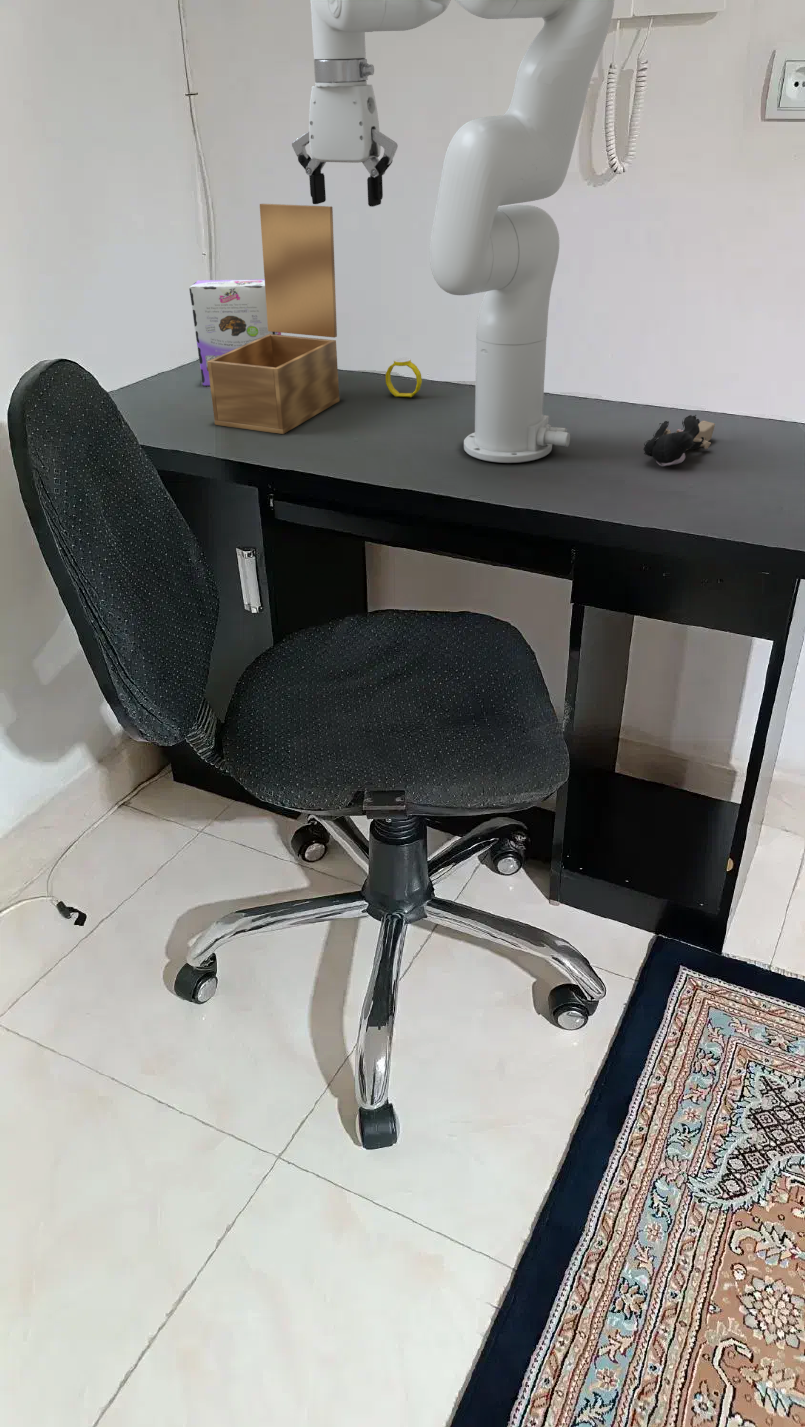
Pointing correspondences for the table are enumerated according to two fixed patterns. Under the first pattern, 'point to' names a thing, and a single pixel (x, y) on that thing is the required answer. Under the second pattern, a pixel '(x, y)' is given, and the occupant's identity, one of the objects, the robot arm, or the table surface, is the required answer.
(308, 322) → the chest lid
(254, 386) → the chest
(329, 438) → the table surface
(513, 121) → the robot arm
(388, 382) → the watch
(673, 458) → the toy figure
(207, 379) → the candy box
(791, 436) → the table surface
